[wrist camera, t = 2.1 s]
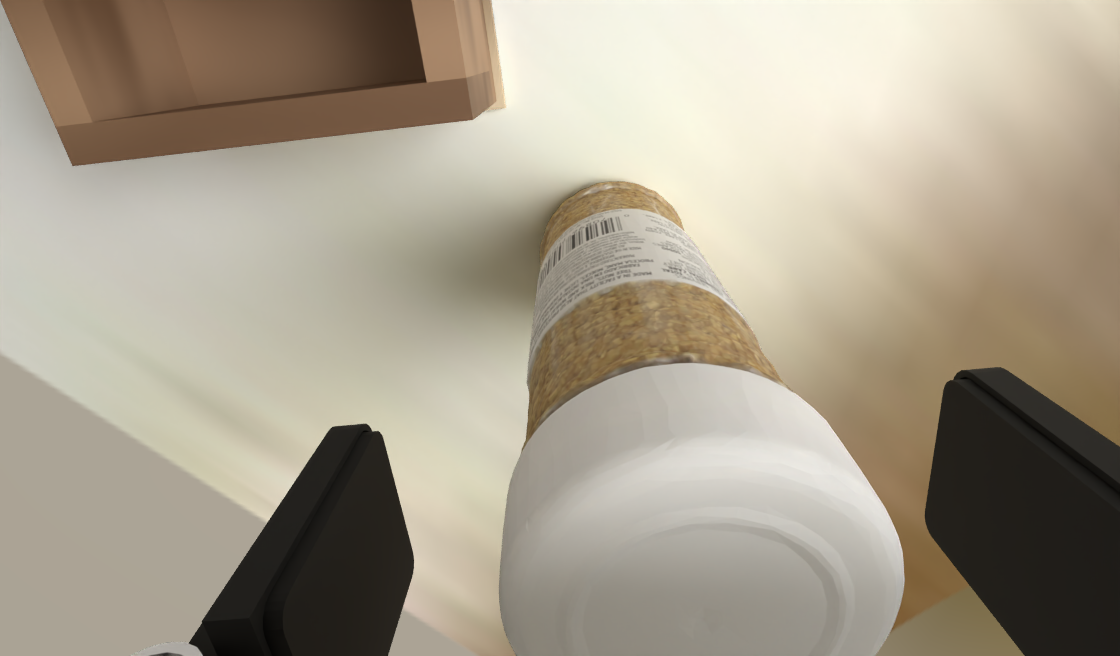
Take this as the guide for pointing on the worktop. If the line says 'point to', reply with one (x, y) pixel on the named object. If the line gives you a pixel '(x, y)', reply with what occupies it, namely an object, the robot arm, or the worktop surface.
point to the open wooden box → (252, 70)
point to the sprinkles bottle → (676, 466)
